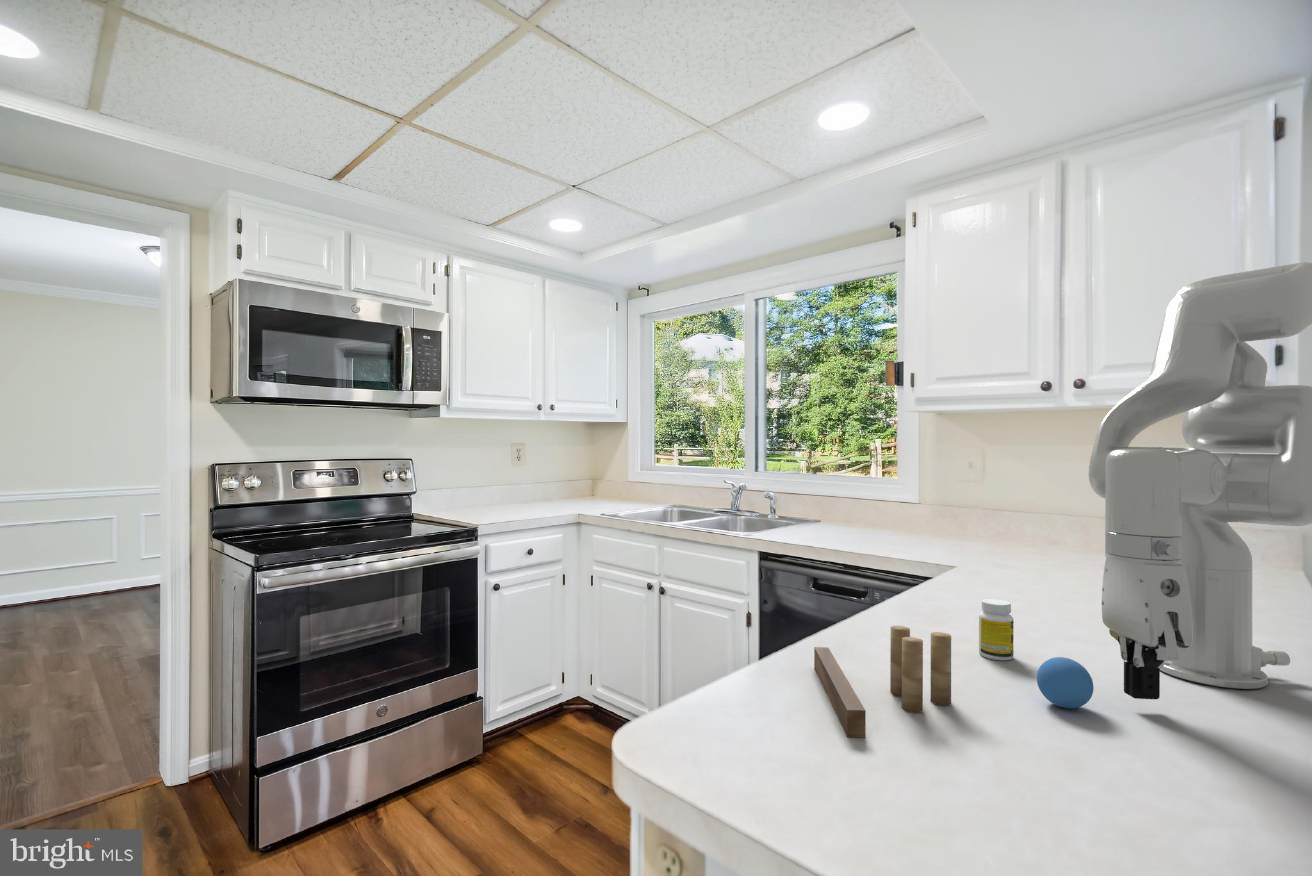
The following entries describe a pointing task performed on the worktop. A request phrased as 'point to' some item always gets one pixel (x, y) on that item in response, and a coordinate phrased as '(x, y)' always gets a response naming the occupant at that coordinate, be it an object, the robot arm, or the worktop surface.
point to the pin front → (941, 668)
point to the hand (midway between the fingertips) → (1141, 696)
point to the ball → (1065, 682)
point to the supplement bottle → (996, 630)
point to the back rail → (840, 693)
